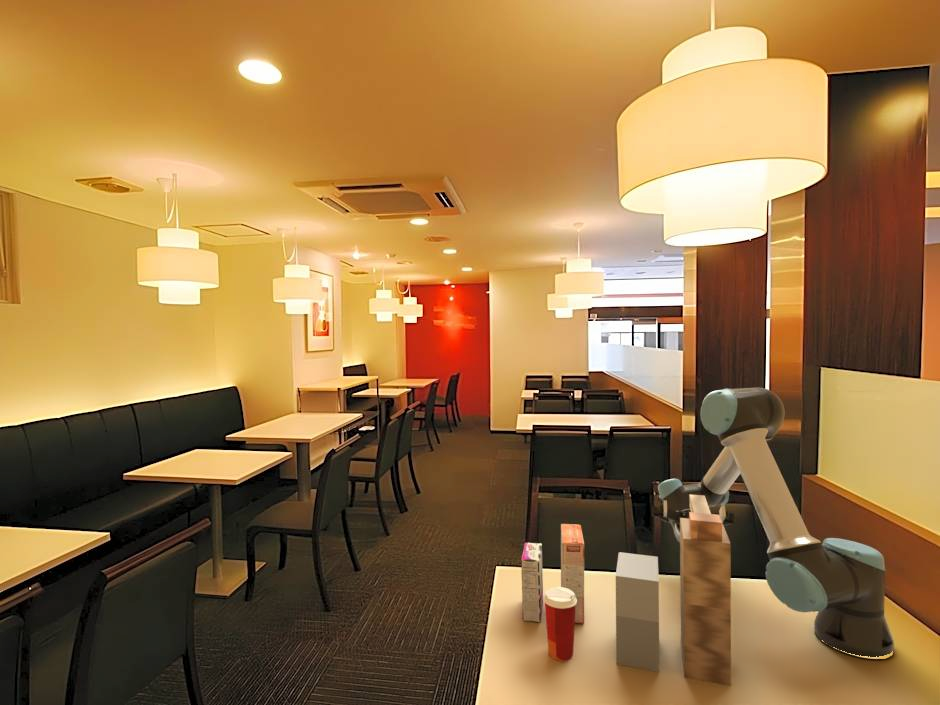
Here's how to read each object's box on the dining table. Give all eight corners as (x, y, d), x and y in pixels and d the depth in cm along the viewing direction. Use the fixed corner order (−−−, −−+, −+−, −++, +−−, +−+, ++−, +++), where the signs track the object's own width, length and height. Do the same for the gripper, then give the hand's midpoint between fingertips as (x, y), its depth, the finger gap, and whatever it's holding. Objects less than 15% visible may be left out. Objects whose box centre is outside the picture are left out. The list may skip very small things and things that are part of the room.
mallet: (710, 507, 127) (710, 492, 126) (722, 541, 106) (722, 522, 106) (684, 505, 129) (684, 490, 128) (690, 538, 108) (690, 519, 108)
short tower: (658, 638, 123) (657, 556, 122) (659, 672, 110) (658, 581, 110) (619, 631, 126) (618, 552, 125) (616, 663, 113) (615, 575, 113)
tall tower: (722, 649, 118) (722, 521, 117) (730, 685, 106) (730, 543, 105) (680, 642, 121) (679, 517, 120) (684, 676, 109) (683, 538, 108)
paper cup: (582, 649, 119) (581, 590, 118) (571, 668, 112) (570, 605, 112) (550, 639, 123) (549, 582, 122) (538, 657, 116) (537, 597, 116)
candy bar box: (525, 599, 142) (524, 541, 141) (543, 601, 141) (542, 542, 140) (521, 621, 131) (520, 558, 131) (541, 623, 130) (540, 560, 130)
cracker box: (585, 624, 129) (585, 543, 128) (561, 623, 130) (560, 542, 129) (582, 596, 143) (581, 523, 142) (560, 595, 144) (559, 522, 143)
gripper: (739, 543, 140) (750, 528, 123) (643, 533, 149) (642, 518, 131) (736, 515, 144) (748, 497, 126) (643, 507, 152) (642, 489, 135)
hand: (694, 508), depth 129 cm, fingers open, 13 cm apart
